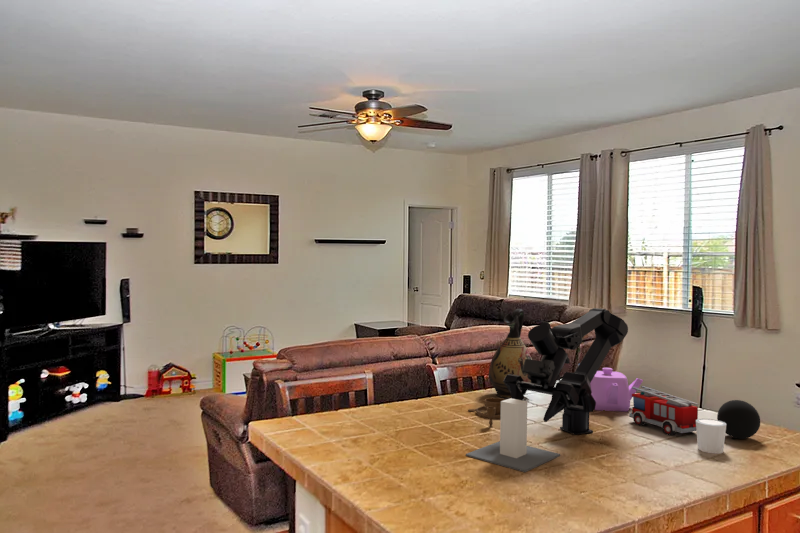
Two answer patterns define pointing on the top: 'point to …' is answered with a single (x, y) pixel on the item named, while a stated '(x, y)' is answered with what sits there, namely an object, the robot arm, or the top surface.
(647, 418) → the toy fire truck
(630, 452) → the top surface
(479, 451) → the charcoal rubber mat
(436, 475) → the top surface
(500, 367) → the ceramic jug
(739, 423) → the decorative ball
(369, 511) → the top surface
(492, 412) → the place setting
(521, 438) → the off-white post
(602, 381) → the teakettle
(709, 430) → the white short cylinder
